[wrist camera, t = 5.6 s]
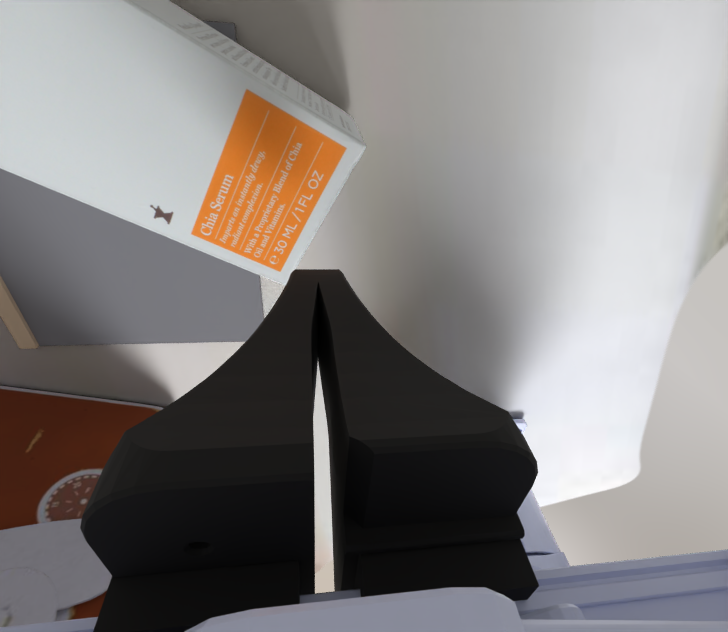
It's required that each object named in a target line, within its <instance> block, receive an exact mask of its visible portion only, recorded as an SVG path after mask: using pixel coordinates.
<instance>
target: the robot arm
mask: <svg viewBox="0 0 728 632" xmlns="http://www.w3.org/2000/svg"><path fill="white" fill-rule="evenodd" d="M317 362H319V369H320V376H321V383H322V390H323V397H324V404H325V410H326V417H327V425H328V435H329V455H330V478H331V503H332V529H333V557H334V584H335V585H334V586H335V592H326V593H317V594H315V526H314V440H313V412H314V400H315V387H316V375H317ZM526 427H527V424H526V422H525V420H524V419H512V417H511V415H510V414H509V412H508V411H506V410H504V409H502V408H500V407H498V406H496V405H494V404H492V403H490V402H488V401H486V400H484V399H482V398H480V397H478V396H476V395H474V394H472V393H470V392H468V391H466V390H464V389H463V388H461V387H459V386H458V385H456V384H454V383H453V382H451V381H449V380H448V379H446V378H444V377H443V376H441V375H440V374H438V373H437V372H435V371H434V370H432V369H431V368H429V367H428V366H427V365H425V364H424V363H423V362H421V361H420V360H419V359H417V358H416V357H415V356H413V355H412V354H411V353H410V352H408V351H407V350H406V349H405V348H404V347H402V346H401V345H400V344H399V343H398V342H397V341H396V340H395V339H394V338H393V337H392V336H391V335H390V334H389V333H388V332H387V331H386V330H385V329H384V328H383V327H382V326H381V325H380V324H379V323H378V322H377V321H376V319H375V318H374V317H373V316H372V315H371V313H370V312H369V311H368V310H367V308H366V307H365V306H364V305H363V303H362V302H361V301H360V299H359V298H358V297H357V295H356V294H355V292H354V291H353V289H352V288H351V286H350V285H349V283H348V281H347V280H346V278H345V276H344V274H343V273H342V272H341V271H340V270H297V269H295V270H294V271H293V272H292V273H291V274H290V277H289V280H288V282H287V284H286V286H285V288H284V290H283V291H282V293H281V295H280V297H279V298H278V300H277V301H276V303H275V304H274V306H273V308H272V309H271V311H270V312H269V313H268V315H267V316H266V317H265V319H264V320H263V321H262V323H261V324H260V325H259V327H258V328H257V329H256V330H255V332H254V333H253V334H252V335H251V336H250V338H249V339H248V340H247V341H246V342H245V343H244V344H243V345H242V346H241V347H240V348H239V349H238V350H237V351H236V352H235V353H234V354H233V355H232V356H231V357H230V358H229V359H228V360H227V361H226V362H225V363H224V364H223V365H222V366H220V367H219V368H218V369H217V370H216V371H215V372H214V373H212V374H211V375H210V376H209V377H208V378H206V379H205V380H204V381H202V382H201V383H200V384H198V385H197V386H196V387H194V388H193V389H192V390H190V391H189V392H188V393H186V394H185V395H183V396H182V397H181V398H179V399H178V400H176V401H175V402H173V403H171V404H170V405H168V406H167V407H165V408H163V409H162V410H160V411H158V412H157V413H155V414H154V415H152V416H150V417H149V418H147V419H145V420H144V421H142V422H140V423H139V424H137V425H135V426H133V427H132V428H130V429H128V430H126V431H125V432H124V434H123V435H122V437H121V439H120V441H119V442H118V444H117V446H116V448H115V449H114V451H113V452H112V454H111V455H110V457H109V459H108V461H107V463H106V464H105V466H104V468H103V470H102V472H101V475H100V477H99V479H98V481H97V484H96V486H95V488H94V490H93V493H92V495H91V497H90V499H89V502H88V504H87V506H86V508H85V511H84V513H83V515H82V520H81V526H80V529H81V531H82V533H83V536H84V538H85V540H86V542H87V543H88V545H89V546H90V547H91V548H92V550H93V551H94V552H95V554H96V555H97V556H98V558H99V559H100V560H101V562H102V563H103V564H104V566H105V567H106V568H107V570H108V571H109V572H110V574H111V575H112V578H111V581H110V584H109V586H108V589H107V592H106V595H105V598H104V601H103V604H102V607H101V610H100V613H99V616H98V617H92V618H83V619H74V620H64V621H55V622H46V623H36V624H27V625H18V626H8V627H0V632H728V550H719V551H708V552H699V553H690V554H681V555H672V556H662V557H652V558H643V559H634V560H624V561H615V562H606V563H597V564H587V565H578V566H570V565H569V563H568V561H567V559H566V556H565V554H564V553H563V552H561V551H560V549H559V547H558V545H557V543H556V541H555V538H554V536H553V534H552V532H551V530H550V528H549V526H548V524H547V522H546V519H545V517H544V515H543V513H542V511H541V509H540V507H539V505H538V503H537V500H536V498H535V496H534V494H533V492H532V490H531V488H532V486H533V484H534V481H535V479H536V476H537V473H538V469H537V461H536V459H535V457H534V455H533V453H532V452H531V450H530V448H529V446H528V444H527V442H526V440H525V438H524V436H523V433H524V431H525V429H526Z"/></svg>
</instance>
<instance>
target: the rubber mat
mask: <svg viewBox="0 0 728 632" xmlns="http://www.w3.org/2000/svg"><path fill="white" fill-rule="evenodd" d="M202 22H204V23H206V24H207V25H209V26H210V27H212V28H214V29H215V30H217V31H218V32H220V33H222V34H223V35H225V36H226V37H228V38H230V39H231V40H233V41H234V42H236V32H235V24H234V23H222V22H210V21H202ZM236 43H237V42H236ZM0 317H1V318H2V320H3V322H4V323H5V325H6V327H7V328H8V330H9V332H10V333H11V335H12V337H13V338H14V340H15V342H16V343H17V345H18V347H19V348H20V349H37V348H38V347H39V346H57V345H103V344H150V343H197V342H243V341H247V340H248V339H249V338H250V336H251V335H252V334H253V333H254V332H255V330H256V329H257V328H258V327H259V325H260V324H261V323H262V321H263V320H264V313H263V303H262V293H261V283H260V275H258V274H255V273H253V272H250V271H248V270H245V269H243V268H241V267H238V266H236V265H233V264H231V263H228V262H226V261H223V260H221V259H219V258H216V257H214V256H211V255H209V254H207V253H204V252H202V251H199V250H197V249H194V248H192V247H189V246H187V245H185V244H182V243H180V242H178V241H175V240H173V239H170V238H168V237H166V236H163V235H161V234H158V233H156V232H153V231H151V230H148V229H146V228H144V227H141V226H139V225H137V224H134V223H132V222H129V221H127V220H124V219H122V218H119V217H117V216H115V215H112V214H110V213H107V212H105V211H103V210H100V209H98V208H95V207H93V206H91V205H88V204H86V203H83V202H81V201H78V200H76V199H74V198H71V197H69V196H66V195H64V194H61V193H59V192H57V191H54V190H52V189H49V188H47V187H44V186H42V185H40V184H37V183H35V182H33V181H30V180H28V179H25V178H23V177H20V176H18V175H15V174H13V173H10V172H8V171H6V170H3V169H1V168H0Z"/></svg>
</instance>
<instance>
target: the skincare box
mask: <svg viewBox="0 0 728 632" xmlns="http://www.w3.org/2000/svg"><path fill="white" fill-rule="evenodd" d="M365 148H366V144H365V142H364V140H363V138H362V136H361V134H360V132H359V130H358V127H357V125H356V123H355V120H354V119H353V118H352V117H351V116H350V115H349V114H348V113H346V112H345V111H343V110H342V109H340V108H339V107H337V106H336V105H334V104H332V103H331V102H329V101H327V100H326V99H324V98H323V97H321V96H320V95H318V94H317V93H315V92H313V91H312V90H310V89H309V88H307V87H305V86H304V85H302V84H301V83H299V82H297V81H296V80H294V79H293V78H291V77H289V76H288V75H286V74H285V73H283V72H282V71H280V70H279V69H277V68H276V67H274V66H272V65H271V64H269V63H268V62H266V61H264V60H263V59H261V58H260V57H258V56H256V55H255V54H253V53H252V52H250V51H248V50H247V49H245V48H244V47H242V46H241V45H239V44H237V43H236V42H234V41H233V40H231V39H230V38H228V37H226V36H225V35H223V34H222V33H220V32H218V31H217V30H215V29H214V28H212V27H210V26H209V25H207V24H206V23H204V22H202V21H201V20H199V19H198V18H196V17H195V16H193V15H191V14H190V13H188V12H187V11H185V10H184V9H182V8H180V7H179V6H177V5H176V4H174V3H173V2H171V1H169V0H0V168H1V169H3V170H6V171H8V172H10V173H13V174H15V175H18V176H20V177H23V178H25V179H28V180H30V181H33V182H35V183H37V184H40V185H42V186H44V187H47V188H49V189H52V190H54V191H57V192H59V193H61V194H64V195H66V196H69V197H71V198H74V199H76V200H78V201H81V202H83V203H86V204H88V205H91V206H93V207H95V208H98V209H100V210H103V211H105V212H107V213H110V214H112V215H115V216H117V217H119V218H122V219H124V220H127V221H129V222H132V223H134V224H137V225H139V226H141V227H144V228H146V229H148V230H151V231H153V232H156V233H158V234H161V235H163V236H166V237H168V238H170V239H173V240H175V241H178V242H180V243H182V244H185V245H187V246H189V247H192V248H194V249H197V250H199V251H202V252H204V253H207V254H209V255H211V256H214V257H216V258H219V259H221V260H223V261H226V262H228V263H231V264H233V265H236V266H238V267H241V268H243V269H245V270H248V271H250V272H253V273H255V274H258V275H260V276H262V277H265V278H267V279H269V280H272V281H274V282H277V283H279V284H282V285H286V284H287V282H288V280H289V277H290V274H291V273H292V272H293V271H294V270H295V269H296V268H297V266H298V264H299V262H300V261H301V259H302V257H303V255H304V254H305V252H306V250H307V248H308V247H309V245H310V243H311V242H312V240H313V238H314V236H315V235H316V233H317V231H318V229H319V228H320V226H321V224H322V222H323V221H324V219H325V217H326V215H327V214H328V212H329V210H330V208H331V207H332V205H333V203H334V201H335V200H336V198H337V196H338V194H339V193H340V191H341V189H342V187H343V186H344V184H345V182H346V180H347V179H348V177H349V175H350V173H351V172H352V170H353V168H354V166H355V165H356V164H357V163H358V161H359V160H360V158H361V156H362V154H363V152H364V150H365Z"/></svg>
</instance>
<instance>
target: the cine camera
mask: <svg viewBox="0 0 728 632" xmlns="http://www.w3.org/2000/svg"><path fill="white" fill-rule="evenodd" d="M162 409H163V408H162V407H158V406H152V405H145V404H139V403H132V402H124V401H116V400H108V399H101V398H93V397H85V396H77V395H69V394H62V393H54V392H46V391H38V390H30V389H22V388H15V387H7V386H0V627H8V626H18V625H27V624H36V623H46V622H55V621H64V620H74V619H83V618H92V617H98V616H99V613H100V610H101V607H102V604H103V601H104V598H105V595H106V592H107V589H108V586H109V584H110V581H111V578H112V575H111V574H110V572H109V571H108V570H107V568H106V567H105V566H104V564H103V563H102V562H101V560H100V559H99V558H98V556H97V555H96V554H95V552H94V551H93V550H92V548H91V547H90V546H89V545H88V543H87V542H86V540H85V538H84V536H83V533H82V531H81V529H80V526H81V520H82V515H83V513H84V511H85V508H86V506H87V504H88V502H89V499H90V497H91V495H92V493H93V490H94V488H95V486H96V484H97V481H98V479H99V477H100V475H101V472H102V470H103V468H104V466H105V464H106V463H107V461H108V459H109V457H110V455H111V454H112V452H113V451H114V449H115V448H116V446H117V444H118V442H119V441H120V439H121V437H122V435H123V434H124V432H125V431H126V430H128V429H130V428H132V427H133V426H135V425H137V424H139V423H140V422H142V421H144V420H145V419H147V418H149V417H150V416H152V415H154V414H155V413H157V412H158V411H160V410H162Z"/></svg>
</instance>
